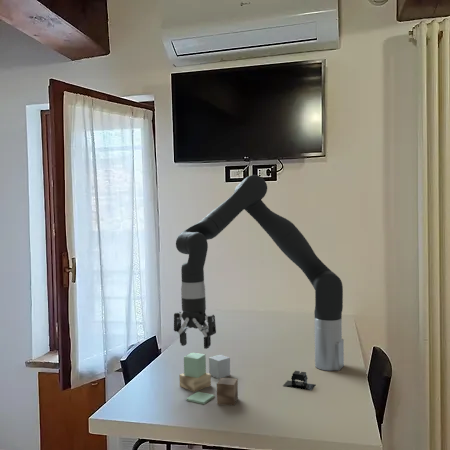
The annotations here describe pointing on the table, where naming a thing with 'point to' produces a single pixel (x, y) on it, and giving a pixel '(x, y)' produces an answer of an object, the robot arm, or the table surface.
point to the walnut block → (227, 391)
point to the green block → (194, 365)
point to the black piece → (299, 385)
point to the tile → (200, 397)
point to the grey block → (219, 366)
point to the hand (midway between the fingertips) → (195, 346)
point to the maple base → (195, 382)
